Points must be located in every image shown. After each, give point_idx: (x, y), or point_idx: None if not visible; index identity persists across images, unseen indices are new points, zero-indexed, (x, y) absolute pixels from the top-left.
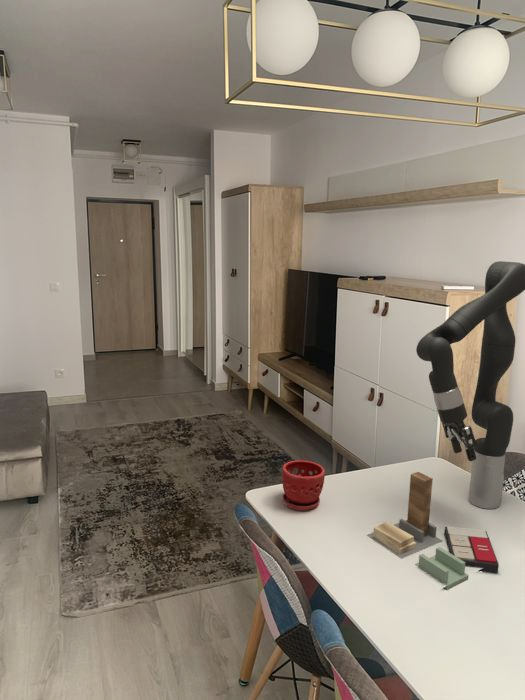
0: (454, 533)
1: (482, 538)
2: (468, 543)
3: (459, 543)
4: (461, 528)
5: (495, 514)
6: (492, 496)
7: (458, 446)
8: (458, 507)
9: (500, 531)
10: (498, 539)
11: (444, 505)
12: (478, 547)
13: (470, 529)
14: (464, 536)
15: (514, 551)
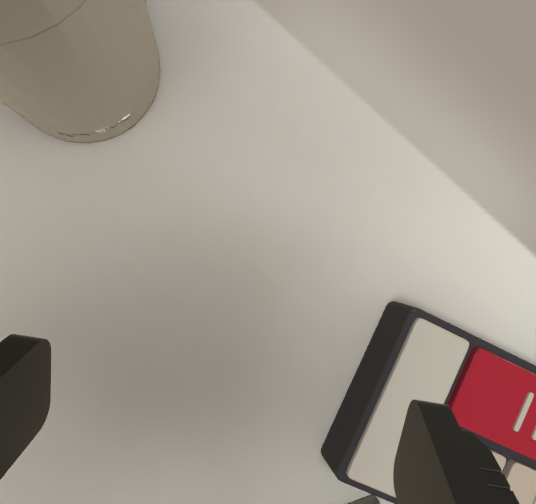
0: None
1: (474, 373)
2: None
3: None
4: (381, 419)
5: (206, 96)
6: (151, 56)
7: (2, 405)
8: (99, 230)
9: (342, 181)
10: (393, 234)
11: (62, 288)
12: (523, 431)
13: (398, 381)
14: None
15: (481, 231)
